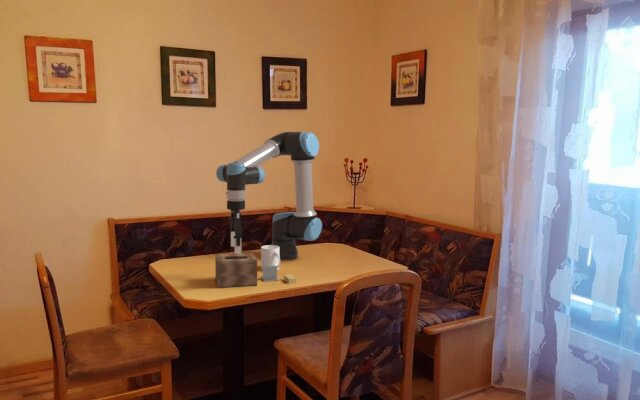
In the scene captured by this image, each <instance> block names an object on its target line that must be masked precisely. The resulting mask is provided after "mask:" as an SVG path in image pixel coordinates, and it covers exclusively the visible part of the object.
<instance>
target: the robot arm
mask: <svg viewBox="0 0 640 400" xmlns="http://www.w3.org/2000/svg"><path fill="white" fill-rule="evenodd" d="M319 150H320V141H319V139H318V138H317V136H316V135H315V134H314V133H313V132H307V131H283V132H281V133H278V134H276V135H274V136H272V137H270V138H268V139H266V140H265V141H264V142H263V144H261V146H259V147H257V148H255V149H254V150H251V151H250V152H248V153H246V154H245V155H243V156H241V157H240V158H238V159H236V160H235V161H233V162H229V163H227V164H222V165H219V166H218V167H217V169H216V178H217V179H218V181H220V182H223V183H226V192H225V195H226V199H227V200H226V209H227V210H230V227H229V229H230V247H231V248H234V254H242V238H243V226H242V213H240V211H243V210H245V209H246V201H245V199H246V185H258V184H261V183H263V182H264V181H265V178H266V173H265V170H264V168H262V167H261V165H262V164H264V163H266V162H268V161H269V160H271V159H275V158H276V159H277V158H278V157H280V156H290V161H291V162H293V164H294V165H293V166H294V184H295V185H294V186H295V188H294V189H295V205H296V206H295V207H296V208H295V209H296V210H295V211H287V212H285V211H284V212H278V213H274V214H273V215H272V223H271V224H272V226H271V227H272V243H271V245H275V246H279V247H280V252H279V256H280V260H281V261H282V260H284V261H285V260H293V259H294V260H295V259H296V258H298V257H299V251H298V248H297V244H296V240H302V241H305V242H306V241H311V242H312V241H316V240H317V239H318V238H319V237H320V234H321V233H322V228H323V222H322V220H321V219H320V217H319V218H318V213H317V212H316V211H315V210H314V193H313V192H314V190H313V189H314V187H313V166H312V164H313V162H314V161H315V158H316V156H317V155H318V154H319Z"/></svg>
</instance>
